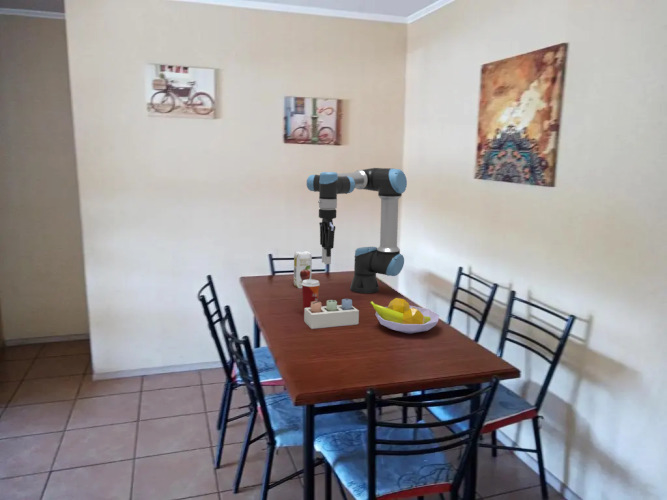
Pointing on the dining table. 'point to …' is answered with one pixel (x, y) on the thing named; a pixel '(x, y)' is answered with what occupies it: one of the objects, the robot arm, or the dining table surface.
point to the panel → (331, 317)
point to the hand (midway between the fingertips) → (326, 262)
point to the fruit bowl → (405, 316)
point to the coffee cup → (309, 292)
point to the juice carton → (302, 267)
